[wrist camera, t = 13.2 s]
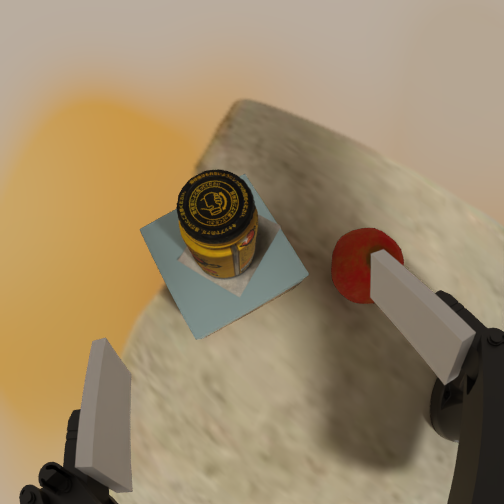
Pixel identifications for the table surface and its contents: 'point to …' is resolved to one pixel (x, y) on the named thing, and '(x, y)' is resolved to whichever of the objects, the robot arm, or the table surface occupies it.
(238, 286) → the condiment
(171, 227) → the tower top
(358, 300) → the apple
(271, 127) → the table surface
